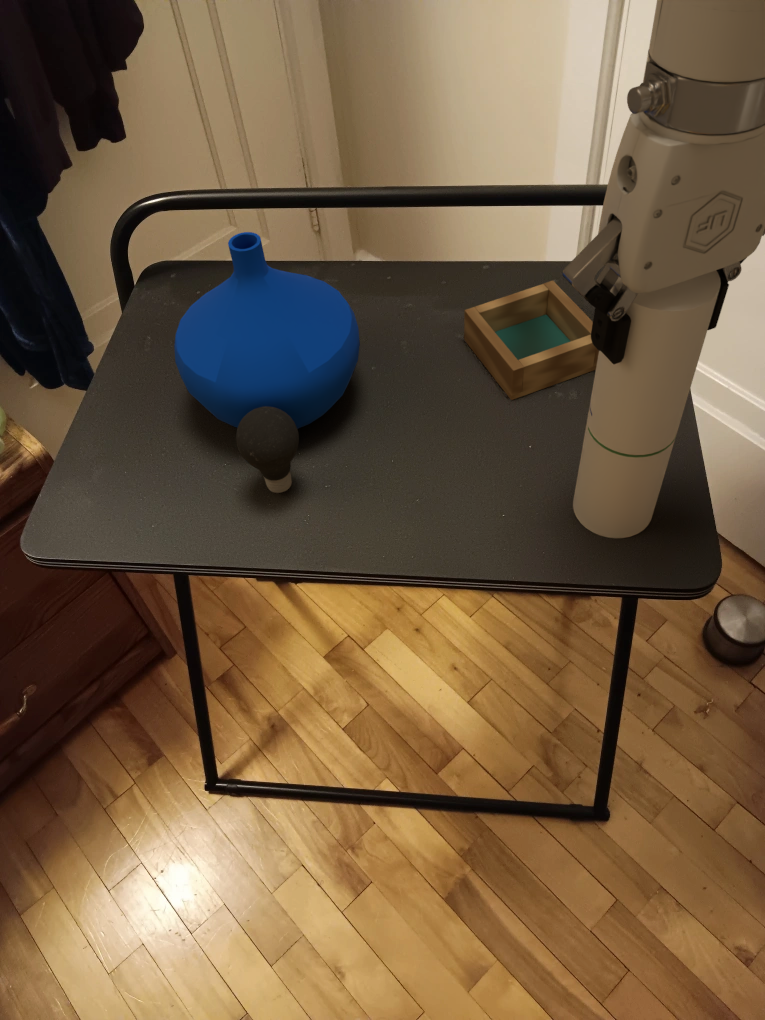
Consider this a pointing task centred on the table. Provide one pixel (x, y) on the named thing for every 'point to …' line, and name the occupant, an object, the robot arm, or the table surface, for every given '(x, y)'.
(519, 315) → the square wooden tray
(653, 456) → the cylindrical container
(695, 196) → the robot arm
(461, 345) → the table surface
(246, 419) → the light bulb
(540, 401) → the table surface
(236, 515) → the table surface
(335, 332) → the vase
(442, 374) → the table surface
